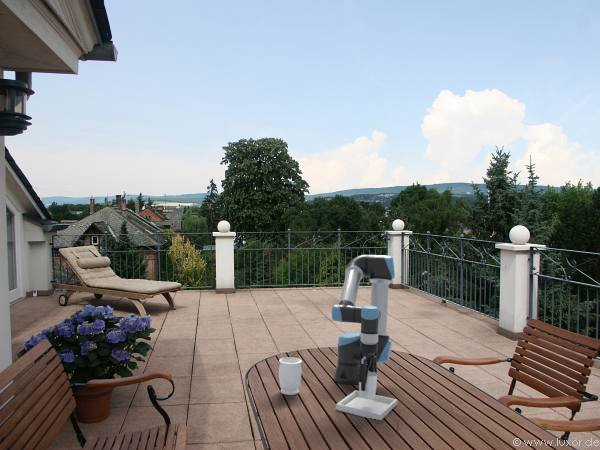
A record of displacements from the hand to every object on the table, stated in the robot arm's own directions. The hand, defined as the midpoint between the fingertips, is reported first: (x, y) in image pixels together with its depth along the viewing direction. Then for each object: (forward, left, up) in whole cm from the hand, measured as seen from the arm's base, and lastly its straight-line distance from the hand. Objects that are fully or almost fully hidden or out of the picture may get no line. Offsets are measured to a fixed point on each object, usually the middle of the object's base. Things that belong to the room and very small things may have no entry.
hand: (367, 394), depth 205 cm
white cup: (0, 0, -1) cm, 1 cm away
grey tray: (0, 0, -6) cm, 6 cm away
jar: (+28, -25, -6) cm, 38 cm away
